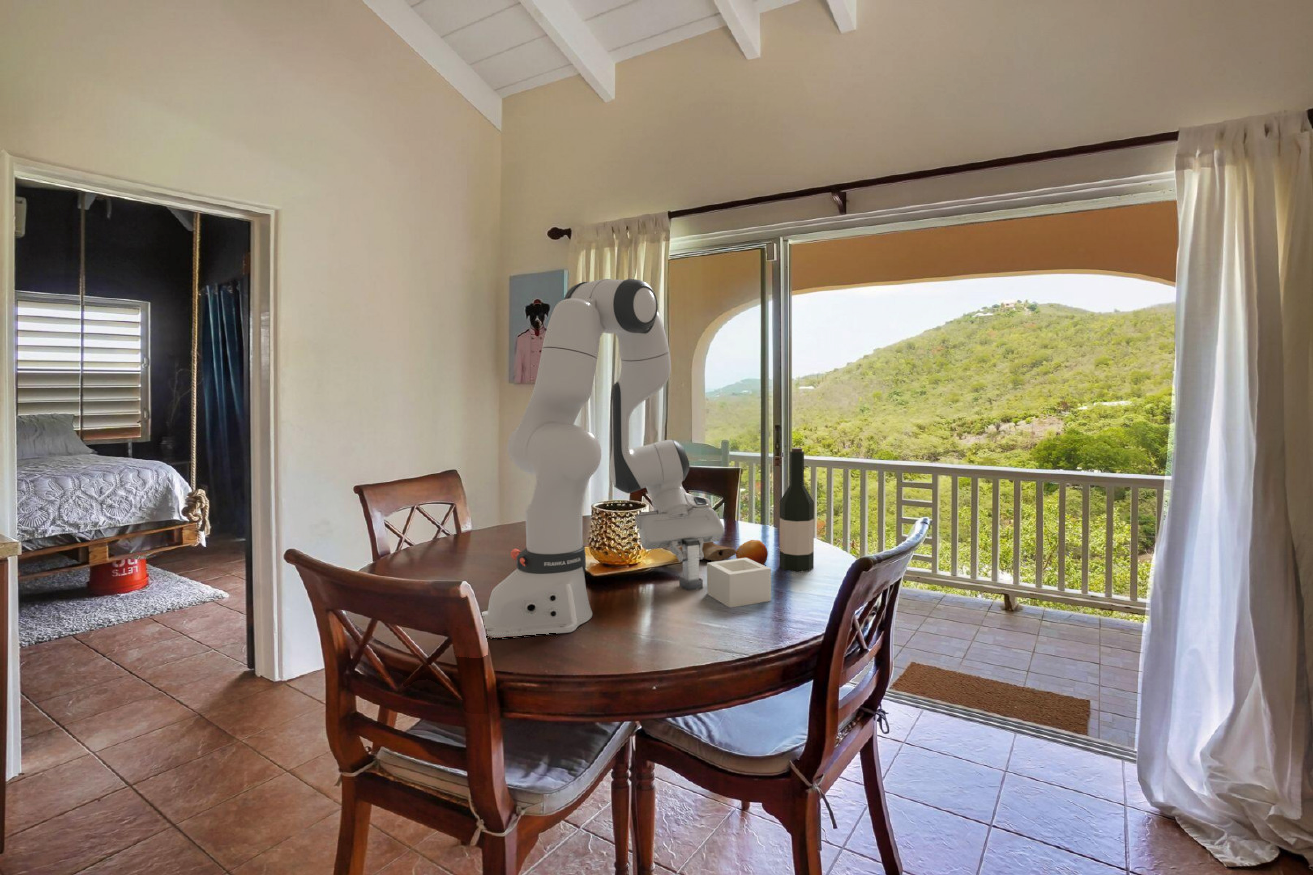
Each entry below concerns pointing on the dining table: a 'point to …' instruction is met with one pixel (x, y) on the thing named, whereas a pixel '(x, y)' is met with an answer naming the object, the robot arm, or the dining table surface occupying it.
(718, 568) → the holder
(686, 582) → the capped white pillar
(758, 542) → the fruit
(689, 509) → the robot arm
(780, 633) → the dining table surface
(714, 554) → the brown boot
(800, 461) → the wine bottle
